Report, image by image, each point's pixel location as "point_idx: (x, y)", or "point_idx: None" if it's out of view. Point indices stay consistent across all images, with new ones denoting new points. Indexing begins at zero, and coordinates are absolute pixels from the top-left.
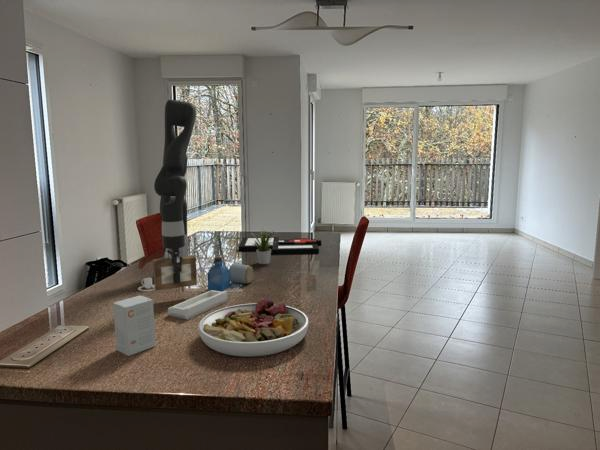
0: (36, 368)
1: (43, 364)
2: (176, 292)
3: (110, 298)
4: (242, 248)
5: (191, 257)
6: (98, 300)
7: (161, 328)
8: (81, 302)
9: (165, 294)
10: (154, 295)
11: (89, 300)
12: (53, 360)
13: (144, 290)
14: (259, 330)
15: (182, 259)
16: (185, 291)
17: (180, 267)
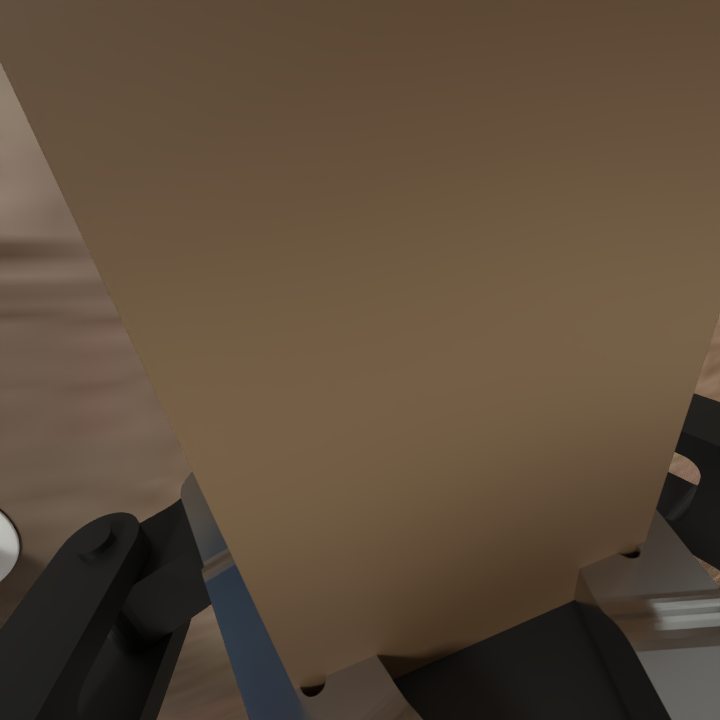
0: (715, 571)
1: (707, 569)
2: (94, 314)
3: (185, 649)
4: None
5: (665, 159)
6: (211, 676)
7: (712, 350)
8: (227, 712)
9: (149, 396)
10: (165, 464)
11: (201, 703)
12: (702, 561)
13: (15, 552)
14: None
15: (643, 492)
16: (62, 226)
17: (702, 416)
